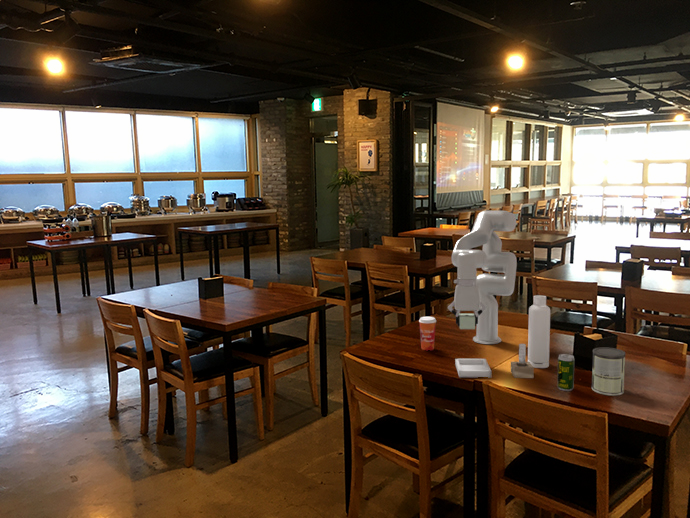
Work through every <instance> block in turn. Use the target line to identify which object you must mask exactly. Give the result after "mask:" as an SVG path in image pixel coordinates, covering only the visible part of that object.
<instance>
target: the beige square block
mask: <svg viewBox="0 0 690 518" xmlns="http://www.w3.org/2000/svg"><path fill="white" fill-rule="evenodd" d="M534 371H535V367H533V366H532V365H531V363H530V362H528V361H525V366H519V361H510V373H511V375H512V376H513V378H514V379H534V375H535V374H534V373H535V372H534Z"/></svg>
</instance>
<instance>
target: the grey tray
mask: <svg viewBox="0 0 690 518" xmlns="http://www.w3.org/2000/svg"><path fill="white" fill-rule="evenodd" d="M454 360H455V361H454V362H455V364H454V365H455V368H456V371H457V374H458V378H478V377H488V379H489V378H492V370H491V368H490V365H489V364H488V360H487V359H486V358H455V359H454Z"/></svg>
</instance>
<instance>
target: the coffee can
mask: <svg viewBox="0 0 690 518" xmlns="http://www.w3.org/2000/svg"><path fill="white" fill-rule="evenodd" d="M626 356H627V355H626V352H625V351H624V350H621V349H619V348H614V347H604V346H603V347H600V346H599V347H595V348H593V349H592V372H591V373H592V375H591V389H592V391H594V392H595V393H597V394H600V395H604V396H611V397H612V396H620V395H623V394H624V393H625V391H624V390H625V367H626V366H625V365H626V364H625V363H626Z"/></svg>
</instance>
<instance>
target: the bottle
mask: <svg viewBox="0 0 690 518" xmlns="http://www.w3.org/2000/svg"><path fill="white" fill-rule="evenodd" d="M550 331H551V308H550V306H548V305H547V296H546V295H542V294H541V295H539V294H537V295H536V294H535V295H533V304H532V305H531V306H529V307H528V331H527V333H528V339H527V341H528V343H527V362H530V363H531V365H532V366H533V367H534V369H535V368H536V369H546V368H548V367H549V366H550V344H551V343H550V341H551V340H550V336H551V335H550V334H551V332H550Z"/></svg>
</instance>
